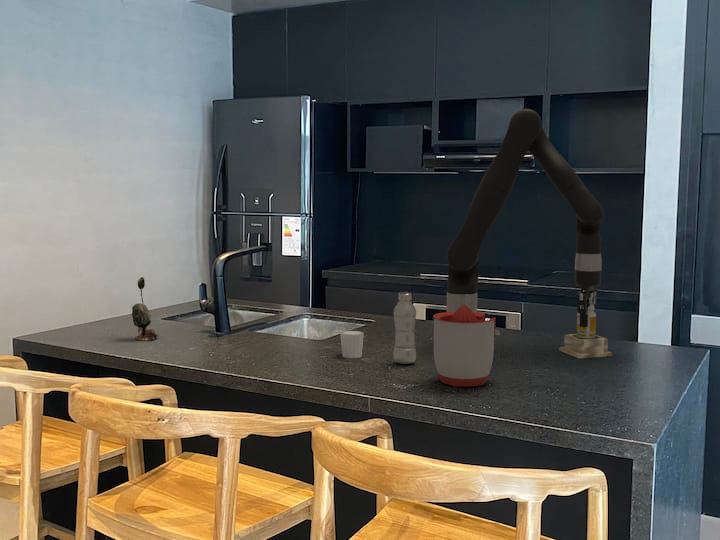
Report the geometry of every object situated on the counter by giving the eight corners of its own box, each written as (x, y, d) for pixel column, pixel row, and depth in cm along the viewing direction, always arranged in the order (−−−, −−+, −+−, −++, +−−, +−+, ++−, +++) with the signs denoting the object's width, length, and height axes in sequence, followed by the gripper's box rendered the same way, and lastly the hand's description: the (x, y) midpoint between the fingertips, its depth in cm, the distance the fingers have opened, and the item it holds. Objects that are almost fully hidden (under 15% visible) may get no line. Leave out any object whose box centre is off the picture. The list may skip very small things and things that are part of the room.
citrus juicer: (511, 387, 189) (513, 307, 187) (446, 392, 185) (447, 310, 182) (483, 372, 204) (485, 298, 202) (423, 377, 199) (423, 301, 197)
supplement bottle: (593, 335, 229) (594, 303, 228) (597, 338, 224) (598, 306, 223) (575, 335, 230) (575, 302, 229) (578, 338, 224) (579, 305, 223)
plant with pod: (124, 341, 245) (122, 279, 242) (144, 335, 255) (142, 275, 253) (146, 343, 242) (144, 280, 240) (165, 336, 253) (164, 276, 251)
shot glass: (367, 354, 226) (367, 331, 225) (357, 359, 219) (357, 335, 219) (346, 352, 228) (346, 329, 228) (336, 357, 222) (336, 333, 221)
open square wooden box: (578, 358, 221) (579, 341, 220) (559, 350, 231) (559, 334, 231) (612, 356, 223) (612, 339, 223) (591, 348, 234) (592, 332, 233)
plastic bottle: (418, 361, 216) (419, 291, 214) (412, 367, 210) (413, 295, 208) (397, 360, 219) (397, 290, 216) (390, 365, 212) (390, 294, 210)
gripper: (595, 271, 216) (593, 330, 218) (606, 267, 229) (604, 322, 231) (568, 270, 220) (566, 328, 222) (581, 265, 233) (579, 320, 234)
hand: (586, 325), depth 226 cm, fingers closed on supplement bottle, 5 cm apart
